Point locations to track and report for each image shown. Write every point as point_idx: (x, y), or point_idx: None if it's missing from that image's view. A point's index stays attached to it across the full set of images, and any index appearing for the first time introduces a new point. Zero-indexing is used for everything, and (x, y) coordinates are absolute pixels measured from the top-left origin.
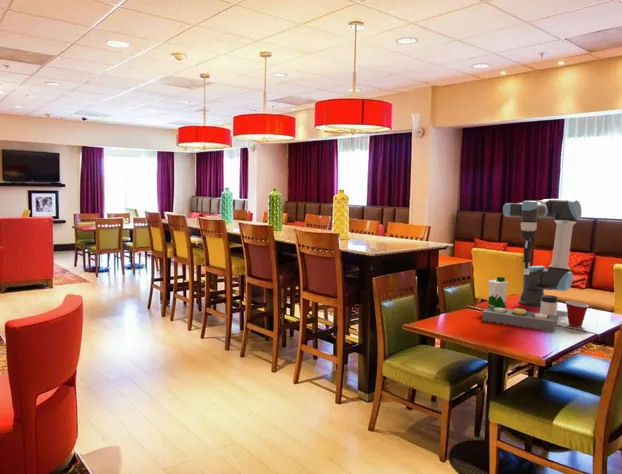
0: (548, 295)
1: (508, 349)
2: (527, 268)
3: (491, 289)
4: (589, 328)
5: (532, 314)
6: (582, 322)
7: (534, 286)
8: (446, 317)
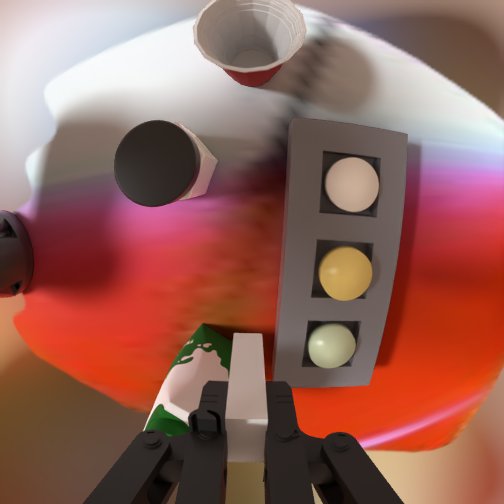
0: (123, 171)
1: None
2: (285, 383)
3: None
4: None
5: (331, 220)
6: (256, 40)
7: None
8: (359, 437)
